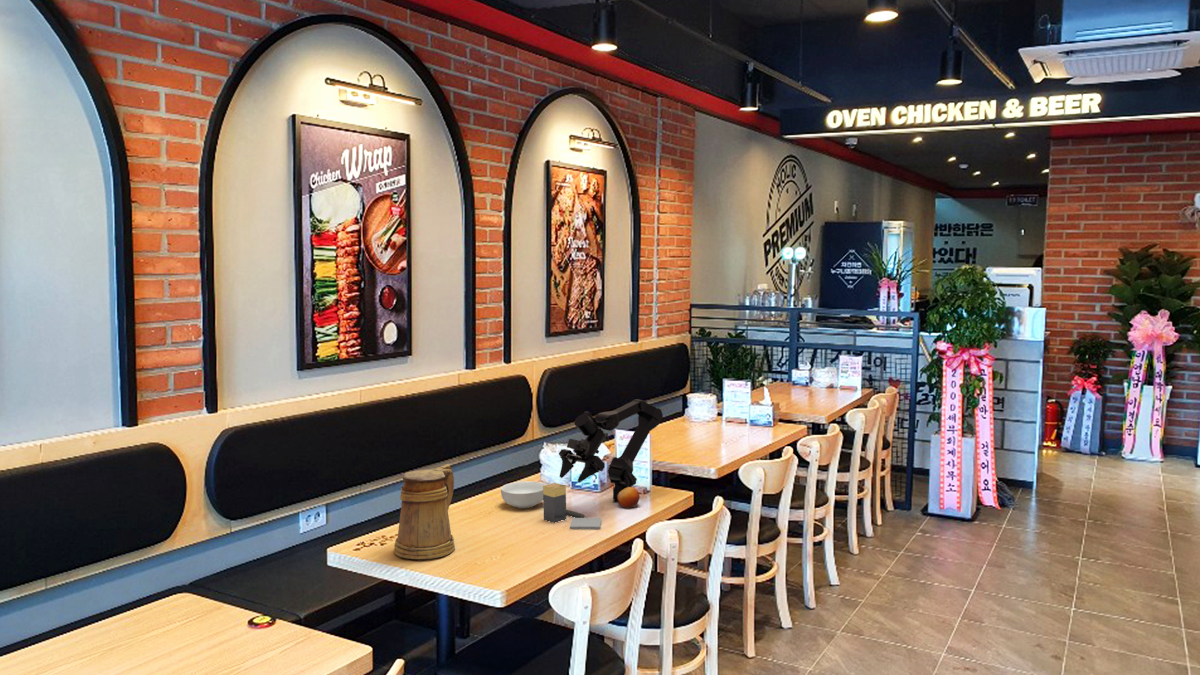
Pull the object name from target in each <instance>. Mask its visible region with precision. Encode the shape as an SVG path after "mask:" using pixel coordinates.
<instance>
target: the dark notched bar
mask: <svg viewBox="0 0 1200 675" xmlns="http://www.w3.org/2000/svg"><path fill="white" fill-rule="evenodd" d="M567 515H568V516H567ZM566 516H567V517H570V516H572V517H571V518H574V517H575V518H586V515H585V514H583V513H580V512H578V511H573V510H570V509H567V508H566Z"/></svg>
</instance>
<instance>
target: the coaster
mask: <svg viewBox="0 0 1200 675" xmlns="http://www.w3.org/2000/svg"><path fill="white" fill-rule="evenodd" d="M601 525H602V517H585V518H574V517H571V520H570V525H569V530H570V529H600V530H601V527H602V526H601ZM600 526H601V527H600Z"/></svg>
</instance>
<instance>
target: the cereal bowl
mask: <svg viewBox="0 0 1200 675" xmlns="http://www.w3.org/2000/svg"><path fill="white" fill-rule="evenodd" d="M544 485H547V484H545V483H544V482H540V481H534V480H532V481H531V480H530V481H529V480H526V481H524V480H522V481H514V482H510V483H505V484H504V485H502V486H501V487H500V494H501V498H502V500H503V502H504V503H505V504H507V505H510V506H512V507H514V508H516V507H518V508H517V509H529V508H528V507H531V508H533V506H534V507H535V506H536V505H538V504H540V503H542V502H543V486H544Z"/></svg>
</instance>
